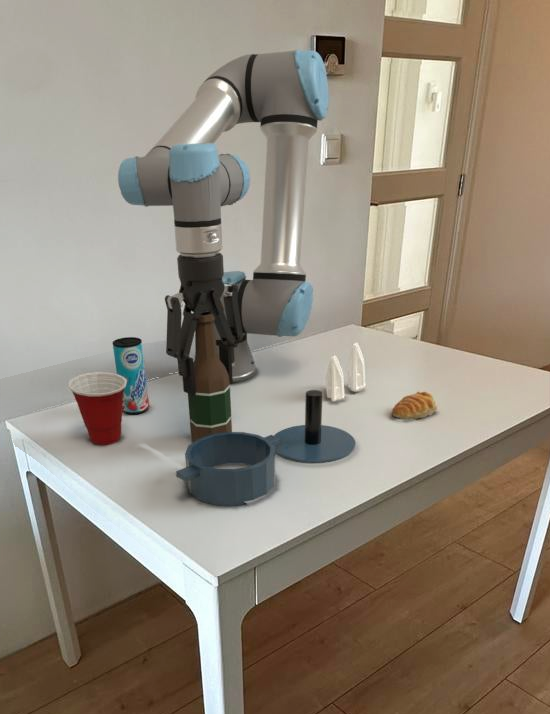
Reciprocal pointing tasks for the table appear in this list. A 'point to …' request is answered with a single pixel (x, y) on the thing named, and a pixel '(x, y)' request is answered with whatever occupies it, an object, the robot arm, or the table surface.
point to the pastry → (415, 406)
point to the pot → (230, 483)
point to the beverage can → (132, 374)
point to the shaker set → (354, 374)
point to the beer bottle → (209, 384)
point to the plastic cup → (100, 404)
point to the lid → (314, 437)
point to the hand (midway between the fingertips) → (208, 386)
